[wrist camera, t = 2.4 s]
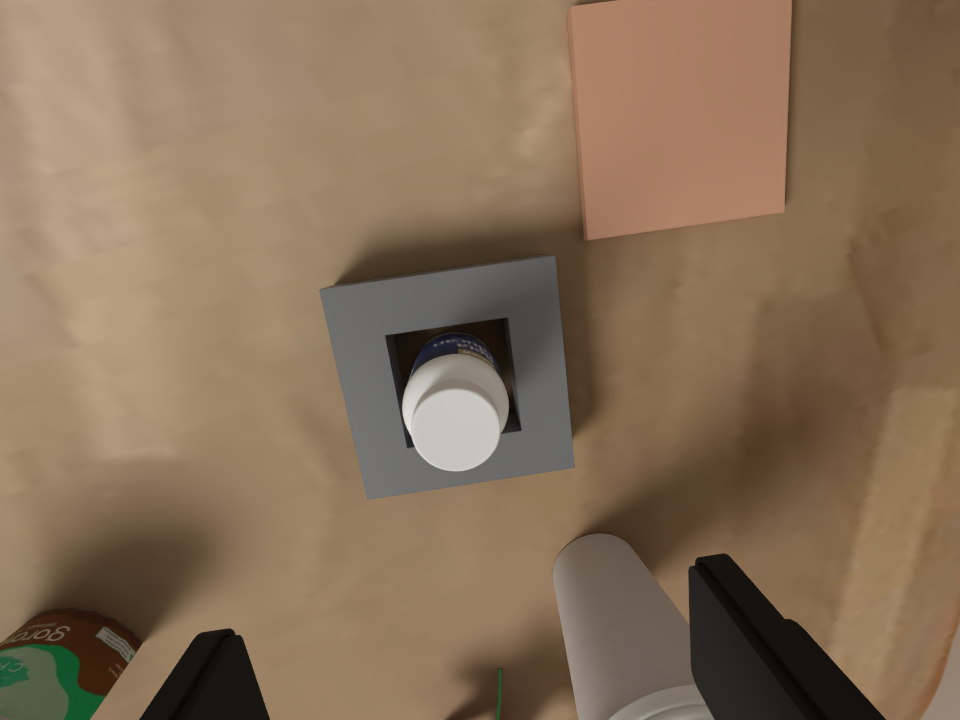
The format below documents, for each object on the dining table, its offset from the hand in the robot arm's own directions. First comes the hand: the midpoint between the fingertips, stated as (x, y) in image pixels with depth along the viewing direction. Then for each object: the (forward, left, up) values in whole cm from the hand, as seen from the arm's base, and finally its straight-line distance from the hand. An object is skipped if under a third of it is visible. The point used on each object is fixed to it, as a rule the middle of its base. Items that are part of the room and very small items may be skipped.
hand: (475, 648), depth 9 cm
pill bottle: (0, 0, -21) cm, 21 cm away
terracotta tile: (-13, +15, -20) cm, 28 cm away
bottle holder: (0, 0, -20) cm, 20 cm away
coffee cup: (+17, +8, -21) cm, 28 cm away
